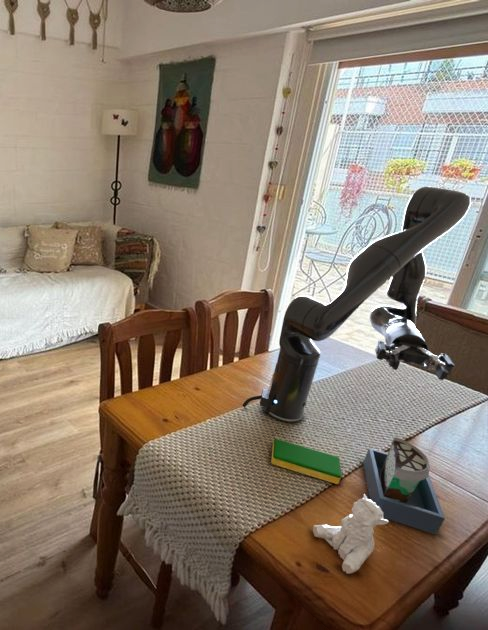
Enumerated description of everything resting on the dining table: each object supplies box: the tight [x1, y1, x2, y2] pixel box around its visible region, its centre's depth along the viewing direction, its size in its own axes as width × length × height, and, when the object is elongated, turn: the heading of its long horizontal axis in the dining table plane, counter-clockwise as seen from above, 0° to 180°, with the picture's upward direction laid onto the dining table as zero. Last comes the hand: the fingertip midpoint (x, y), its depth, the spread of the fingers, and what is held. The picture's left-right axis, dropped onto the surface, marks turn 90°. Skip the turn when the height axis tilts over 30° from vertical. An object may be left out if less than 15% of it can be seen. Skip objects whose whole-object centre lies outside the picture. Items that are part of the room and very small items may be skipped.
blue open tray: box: [362, 447, 446, 536], centre depth 93 cm, size 11×17×4 cm, turn 154°
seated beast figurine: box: [312, 493, 390, 575], centre depth 80 cm, size 10×9×12 cm
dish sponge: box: [270, 438, 342, 485], centre depth 102 cm, size 7×14×2 cm, turn 64°
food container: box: [380, 436, 430, 503], centre depth 92 cm, size 12×6×10 cm, turn 148°
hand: (419, 371), depth 97 cm, fingers open, 8 cm apart
